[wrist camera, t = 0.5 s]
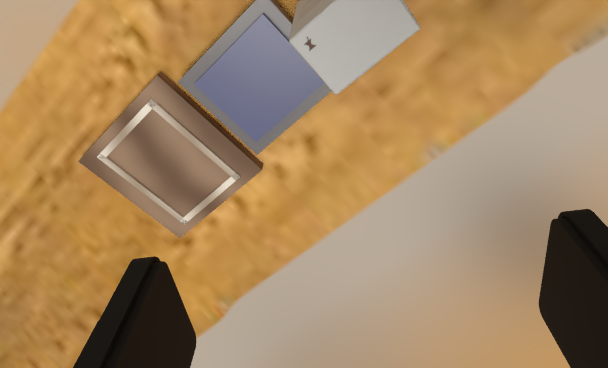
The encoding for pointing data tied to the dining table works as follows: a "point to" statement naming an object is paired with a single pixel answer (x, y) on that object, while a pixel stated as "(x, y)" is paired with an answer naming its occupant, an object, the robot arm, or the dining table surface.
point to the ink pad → (256, 77)
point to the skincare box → (348, 36)
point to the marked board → (171, 157)
